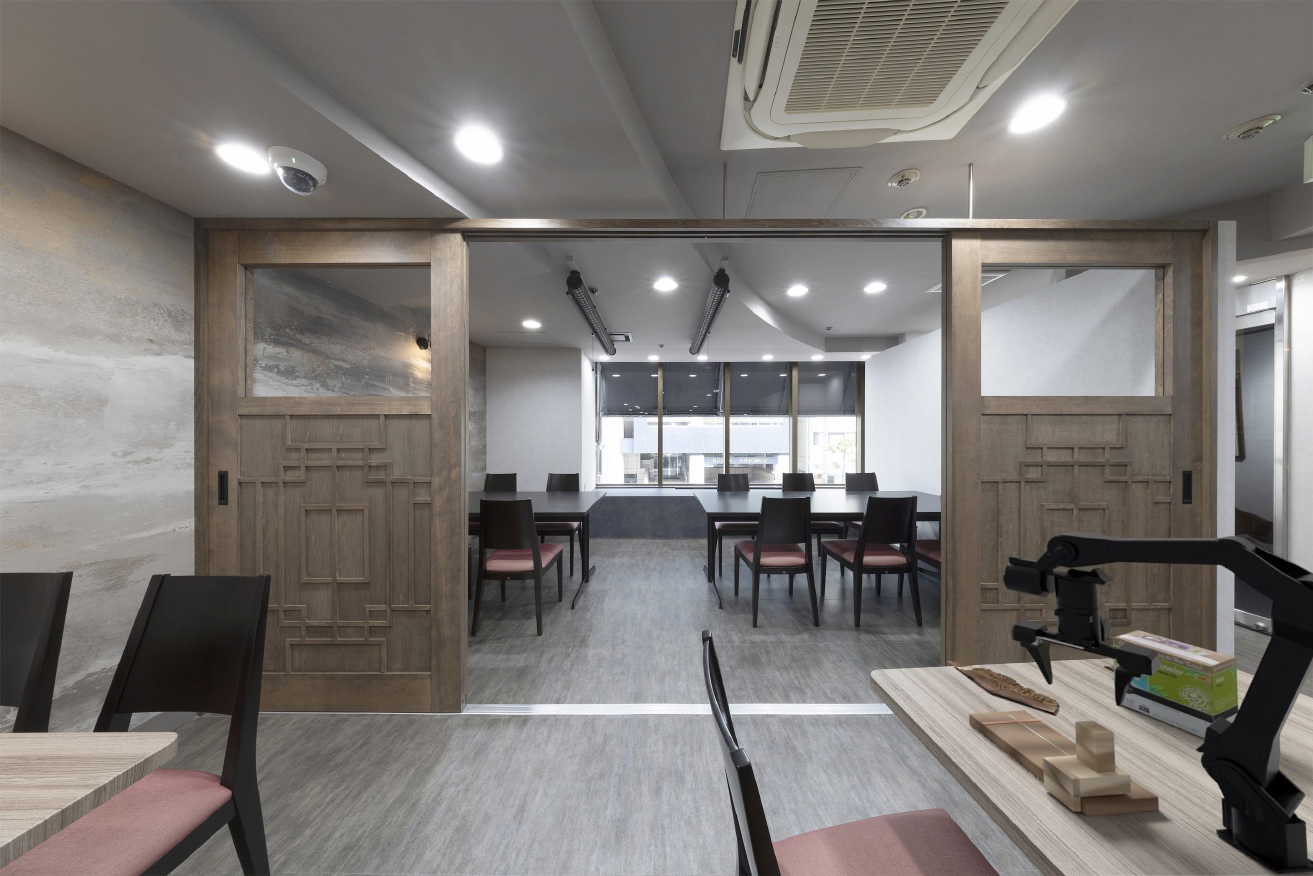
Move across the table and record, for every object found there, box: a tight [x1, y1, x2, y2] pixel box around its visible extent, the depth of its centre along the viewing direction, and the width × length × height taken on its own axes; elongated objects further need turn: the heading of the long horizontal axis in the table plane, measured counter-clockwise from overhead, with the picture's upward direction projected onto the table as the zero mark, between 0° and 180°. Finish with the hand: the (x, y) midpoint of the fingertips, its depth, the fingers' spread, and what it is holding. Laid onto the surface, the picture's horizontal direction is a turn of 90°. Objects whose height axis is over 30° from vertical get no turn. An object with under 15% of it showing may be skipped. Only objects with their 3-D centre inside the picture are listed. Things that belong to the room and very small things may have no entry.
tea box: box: [1112, 629, 1239, 740], centre depth 96 cm, size 15×10×15 cm, turn 21°
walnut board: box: [968, 710, 1160, 817], centre depth 83 cm, size 24×12×2 cm, turn 4°
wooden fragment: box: [945, 660, 1060, 716], centre depth 110 cm, size 26×11×1 cm, turn 13°
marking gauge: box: [1043, 720, 1131, 812], centre depth 74 cm, size 5×10×11 cm, turn 94°
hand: (1082, 694), depth 82 cm, fingers open, 9 cm apart
